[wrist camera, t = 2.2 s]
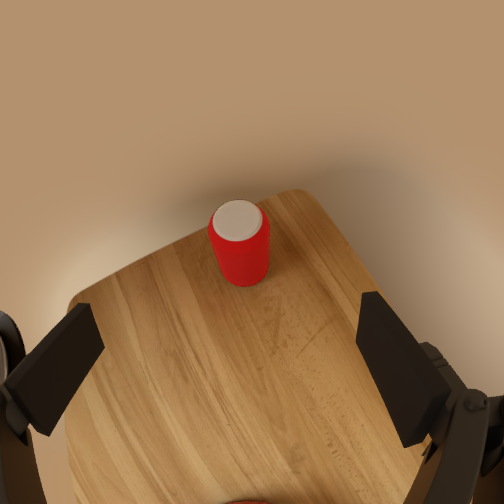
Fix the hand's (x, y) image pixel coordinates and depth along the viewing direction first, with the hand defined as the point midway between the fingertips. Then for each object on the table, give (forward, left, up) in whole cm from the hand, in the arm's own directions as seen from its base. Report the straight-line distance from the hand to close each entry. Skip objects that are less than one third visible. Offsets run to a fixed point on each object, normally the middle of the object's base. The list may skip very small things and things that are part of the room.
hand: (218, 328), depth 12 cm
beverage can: (-11, +6, -22) cm, 26 cm away
